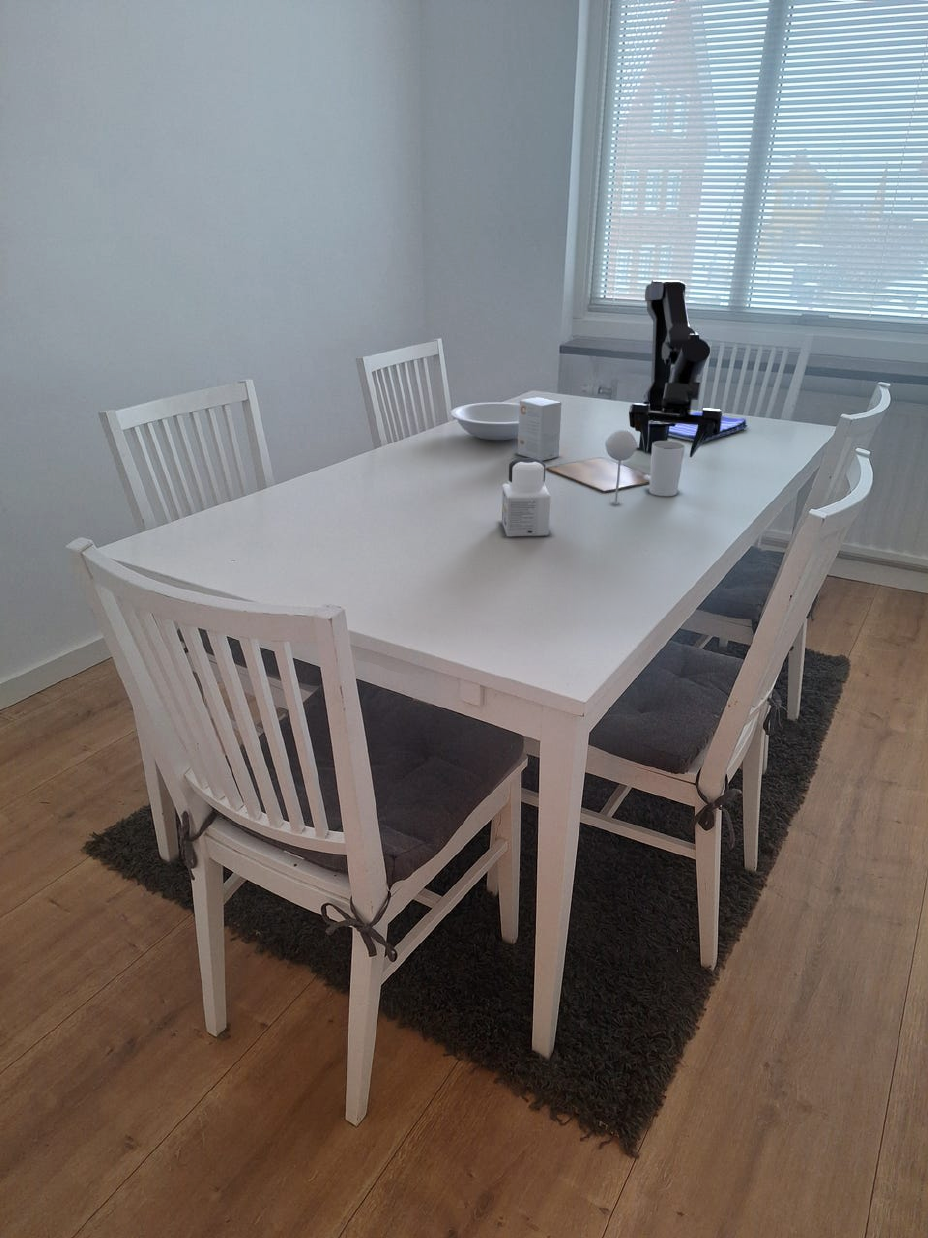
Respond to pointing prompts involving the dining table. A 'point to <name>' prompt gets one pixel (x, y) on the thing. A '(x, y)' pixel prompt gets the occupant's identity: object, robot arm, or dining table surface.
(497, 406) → the soup bowl
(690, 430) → the dish towel
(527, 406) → the small box
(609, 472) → the glossy brown placemat
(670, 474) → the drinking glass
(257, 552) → the dining table surface
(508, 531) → the container
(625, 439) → the lollipop
